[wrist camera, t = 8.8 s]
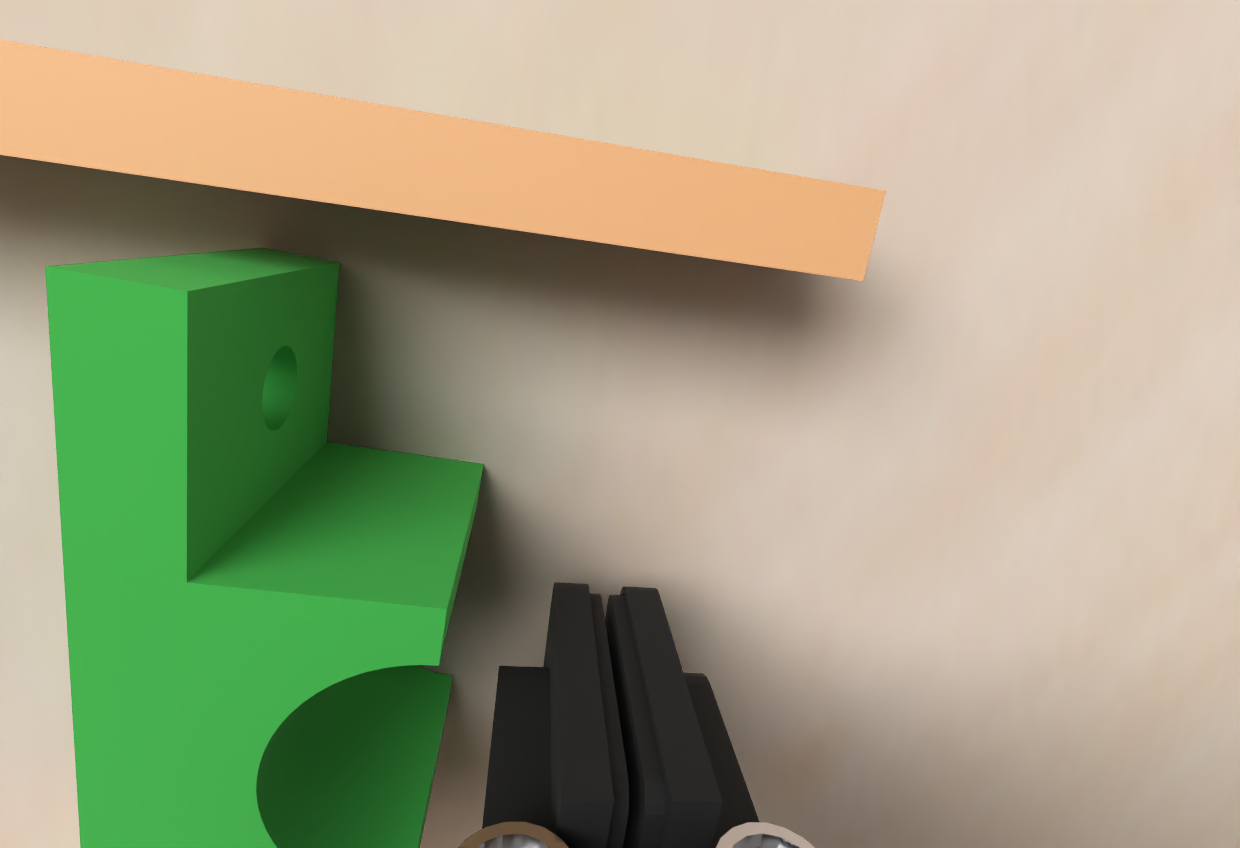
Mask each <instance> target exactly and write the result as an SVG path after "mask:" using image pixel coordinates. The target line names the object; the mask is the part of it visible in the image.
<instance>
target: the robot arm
mask: <svg viewBox="0 0 1240 848" xmlns="http://www.w3.org/2000/svg"><path fill="white" fill-rule="evenodd" d="M459 848H815V847H814V846H812V845H811V844H810V843H809V842H808V841H807V840H806V839H804V838H803V837H801V836H799V835H797V834H796V833H794V832H792V831H790V830H788V829H787V828H784V827H781V826H777V825H774V824H770V823H767V822H759V820H758V817H757V814H756V811H755V809H754V806H753V803H752V800H751V797H750V795H749V792H748V789H747V786H746V783H745V781H744V778H743V775H742V772H741V769H740V767H739V764H738V761H737V758H736V755H735V753H734V750H733V747H732V744H731V741H730V739H729V736H728V733H727V730H726V727H725V725H724V722H723V719H722V716H721V713H720V711H719V708H718V705H717V702H716V699H715V697H714V694H713V691H712V688H711V685H710V683H709V681H708V679H707V677H706V676H705V675H704V674H695V673H683V671H682V667H681V664H680V661H679V658H678V654H677V651H676V648H675V644H674V641H673V638H672V635H671V631H670V628H669V625H668V622H667V618H666V615H665V612H664V609H663V605H662V602H661V599H660V595H659V592H658V590H657V589H656V588H641V587H623V588H622V590H621V594H620V595H610V596H609V599H608V604H607V611H606V617H605V619H604V612H603V605H602V598H601V595H600V594H590V592H589V586H588V584H574V583H558V582H555V583H554V587H553V593H552V601H551V610H550V618H549V626H548V634H547V642H546V650H545V658H544V666H543V667H518V666H499V673H498V683H497V692H496V702H495V711H494V721H493V730H492V740H491V749H490V759H489V768H488V778H487V787H486V797H485V806H484V816H483V826H482V830H480V831H478V832H477V833H475V834H474V835H472V836H470V837H469V838H467V839H466V840H465V841H464V842H463V843H462V844H461V845H460V847H459Z"/></svg>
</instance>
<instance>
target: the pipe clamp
mask: <svg viewBox="0 0 1240 848" xmlns="http://www.w3.org/2000/svg"><path fill="white" fill-rule="evenodd" d="M45 269H46V285H47V302H48V318H49V335H50V351H51V367H52V384H53V400H54V417H55V433H56V450H57V466H58V483H59V499H60V515H61V532H62V548H63V565H64V581H65V598H66V614H67V631H68V647H69V663H70V680H71V696H72V713H73V729H74V746H75V762H76V779H77V795H78V811H79V828H80V844H81V848H420V843H421V838H422V833H423V828H424V823H425V818H426V813H427V808H428V803H429V798H430V793H431V788H432V783H433V778H434V773H435V768H436V763H437V758H438V753H439V748H440V743H441V738H442V733H443V728H444V723H445V718H446V713H447V708H448V702H449V695H450V689H451V682H452V675H447V674H441V673H436V672H432V671H429V670H426V669H422V668H420V667H418V666H415V665H434V666H439V663H440V659H441V655H442V651H443V647H444V643H445V638H446V634H447V630H448V626H449V622H450V617H451V613H452V609H453V605H454V601H455V596H456V592H457V588H458V584H459V580H460V576H461V571H462V567H463V563H464V559H465V555H466V550H467V546H468V542H469V538H470V534H471V529H472V525H473V521H474V517H475V513H476V509H477V504H478V499H479V492H480V485H481V478H482V472H483V465H484V464H478V463H471V462H464V461H457V460H450V459H443V458H436V457H429V456H422V455H415V454H408V453H401V452H394V451H387V450H380V449H373V448H366V447H359V446H352V445H345V444H338V443H331V442H327V433H328V419H329V404H330V390H331V376H332V361H333V347H334V333H335V319H336V304H337V290H338V276H339V262H335V261H329V260H324V259H319V258H313V257H308V256H303V255H298V254H292V253H287V252H282V251H276V250H271V249H266V248H254V249H242V250H231V251H219V252H208V253H196V254H184V255H173V256H161V257H150V258H138V259H127V260H115V261H103V262H92V263H80V264H69V265H57V266H45Z"/></svg>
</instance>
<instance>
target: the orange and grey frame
mask: <svg viewBox="0 0 1240 848" xmlns="http://www.w3.org/2000/svg"><path fill="white" fill-rule="evenodd" d="M0 155H5V156H12V157H19V158H26V159H32V160H39V161H46V162H53V163H60V164H67V165H73V166H80V167H87V168H94V169H101V170H108V171H114V172H121V173H128V174H135V175H142V176H149V177H155V178H162V179H169V180H176V181H183V182H190V183H196V184H203V185H210V186H217V187H224V188H231V189H237V190H244V191H251V192H258V193H265V194H272V195H278V196H285V197H292V198H299V199H306V200H313V201H319V202H326V203H333V204H340V205H347V206H354V207H360V208H367V209H374V210H381V211H388V212H395V213H401V214H408V215H415V216H422V217H429V218H436V219H442V220H449V221H456V222H463V223H470V224H477V225H483V226H490V227H497V228H504V229H511V230H518V231H524V232H531V233H538V234H545V235H552V236H559V237H565V238H572V239H579V240H586V241H593V242H600V243H606V244H613V245H620V246H627V247H634V248H641V249H647V250H654V251H661V252H668V253H675V254H682V255H688V256H695V257H702V258H709V259H716V260H723V261H729V262H736V263H743V264H750V265H757V266H764V267H770V268H777V269H784V270H791V271H798V272H805V273H811V274H818V275H825V276H832V277H839V278H846V279H852V280H859V281H863V280H864V276H865V272H866V268H867V264H868V260H869V256H870V252H871V249H872V245H873V241H874V237H875V233H876V229H877V225H878V221H879V217H880V213H881V209H882V205H883V201H884V197H885V193H886V191H883V190H878V189H872V188H866V187H860V186H854V185H848V184H842V183H837V182H831V181H825V180H819V179H813V178H807V177H801V176H796V175H790V174H784V173H778V172H772V171H766V170H760V169H755V168H749V167H743V166H737V165H731V164H725V163H720V162H714V161H708V160H702V159H696V158H690V157H684V156H679V155H673V154H667V153H661V152H655V151H649V150H643V149H638V148H632V147H626V146H620V145H614V144H608V143H602V142H597V141H591V140H585V139H579V138H573V137H567V136H562V135H556V134H550V133H544V132H538V131H532V130H526V129H521V128H515V127H509V126H503V125H497V124H491V123H485V122H480V121H474V120H468V119H462V118H456V117H450V116H444V115H439V114H433V113H427V112H421V111H415V110H409V109H403V108H398V107H392V106H386V105H380V104H374V103H368V102H363V101H357V100H351V99H345V98H339V97H333V96H327V95H322V94H316V93H310V92H304V91H298V90H292V89H286V88H281V87H275V86H269V85H263V84H257V83H251V82H245V81H240V80H234V79H228V78H222V77H216V76H210V75H205V74H199V73H193V72H187V71H181V70H175V69H169V68H164V67H158V66H152V65H146V64H140V63H134V62H128V61H123V60H117V59H111V58H105V57H99V56H93V55H87V54H82V53H76V52H70V51H64V50H58V49H52V48H47V47H41V46H35V45H29V44H23V43H17V42H11V41H6V40H0Z"/></svg>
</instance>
